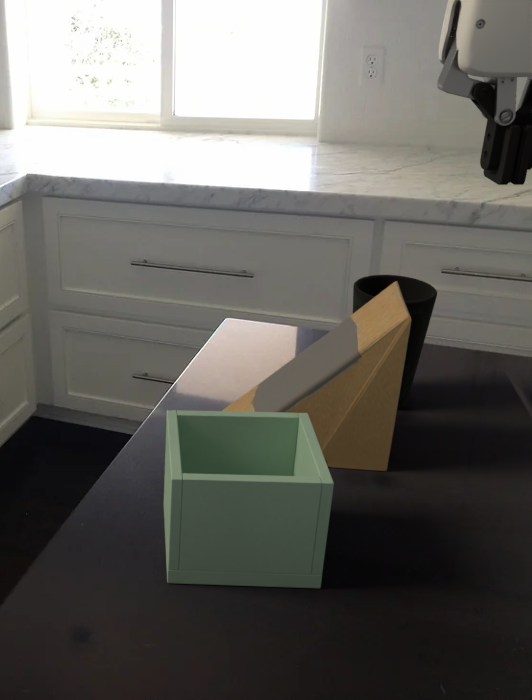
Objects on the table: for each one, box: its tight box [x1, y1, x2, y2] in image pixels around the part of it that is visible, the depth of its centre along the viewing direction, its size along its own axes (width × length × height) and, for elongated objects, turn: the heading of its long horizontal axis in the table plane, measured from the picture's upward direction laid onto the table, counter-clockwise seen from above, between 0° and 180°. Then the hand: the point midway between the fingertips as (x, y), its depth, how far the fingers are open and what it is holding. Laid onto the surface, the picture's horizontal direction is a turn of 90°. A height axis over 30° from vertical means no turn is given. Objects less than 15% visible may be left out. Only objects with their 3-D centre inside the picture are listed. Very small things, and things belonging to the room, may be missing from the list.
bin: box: [163, 409, 335, 589], centre depth 65 cm, size 9×10×11 cm
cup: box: [352, 274, 438, 410], centre depth 86 cm, size 8×8×12 cm
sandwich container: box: [221, 281, 411, 472], centre depth 78 cm, size 9×15×15 cm, turn 78°
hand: (503, 179), depth 60 cm, fingers closed
